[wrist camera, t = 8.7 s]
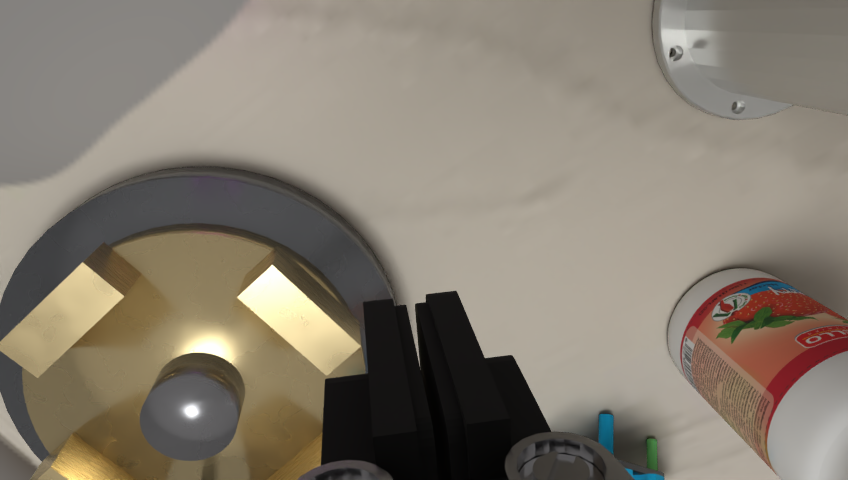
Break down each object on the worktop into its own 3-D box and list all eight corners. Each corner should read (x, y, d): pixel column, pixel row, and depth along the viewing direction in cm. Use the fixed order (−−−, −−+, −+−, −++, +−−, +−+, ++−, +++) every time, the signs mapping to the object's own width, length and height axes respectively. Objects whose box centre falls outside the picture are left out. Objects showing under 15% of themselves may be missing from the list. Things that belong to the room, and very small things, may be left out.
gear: (503, 490, 47) (601, 483, 39) (510, 408, 50) (602, 386, 42) (619, 518, 51) (728, 517, 43) (619, 441, 54) (722, 426, 46)
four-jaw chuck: (17, 219, 35) (-34, 250, 30) (370, 226, 38) (374, 257, 33) (58, 509, 41) (21, 573, 36) (360, 499, 44) (362, 558, 39)
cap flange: (294, 98, 38) (290, 105, 35) (456, 410, 46) (463, 437, 43) (-68, 272, 39) (-103, 293, 36) (153, 548, 47) (141, 585, 44)
